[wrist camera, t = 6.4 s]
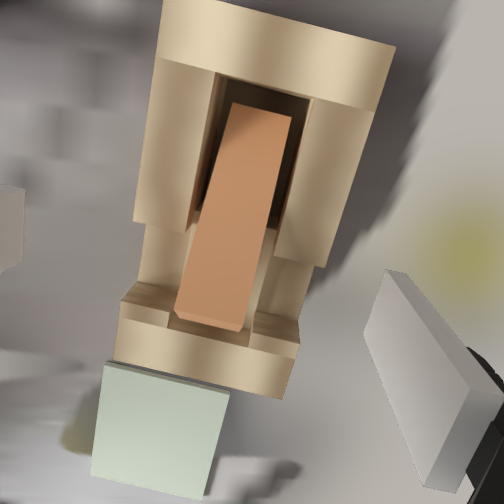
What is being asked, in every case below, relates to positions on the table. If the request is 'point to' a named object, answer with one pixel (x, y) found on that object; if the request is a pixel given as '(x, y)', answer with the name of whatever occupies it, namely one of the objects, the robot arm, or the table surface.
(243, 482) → the table surface
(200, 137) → the frame
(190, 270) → the bar
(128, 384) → the mat
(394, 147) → the table surface
